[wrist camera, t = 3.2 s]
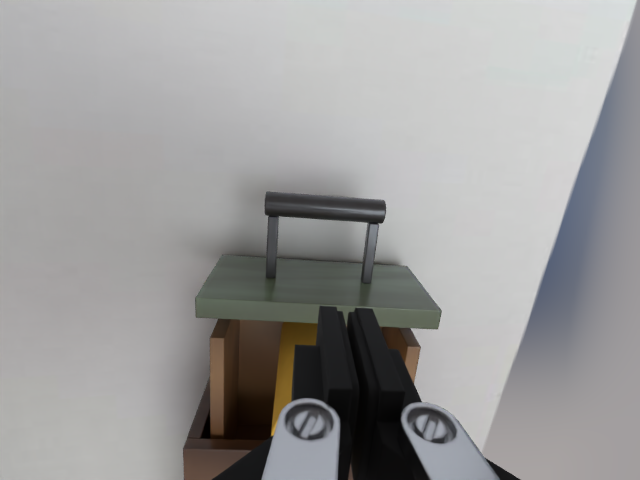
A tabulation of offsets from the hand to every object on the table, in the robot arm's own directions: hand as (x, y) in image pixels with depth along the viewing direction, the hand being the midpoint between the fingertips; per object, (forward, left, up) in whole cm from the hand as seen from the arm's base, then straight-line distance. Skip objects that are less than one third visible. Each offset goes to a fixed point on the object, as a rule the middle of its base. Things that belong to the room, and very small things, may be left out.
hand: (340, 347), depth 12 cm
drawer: (+7, 0, -14) cm, 16 cm away
